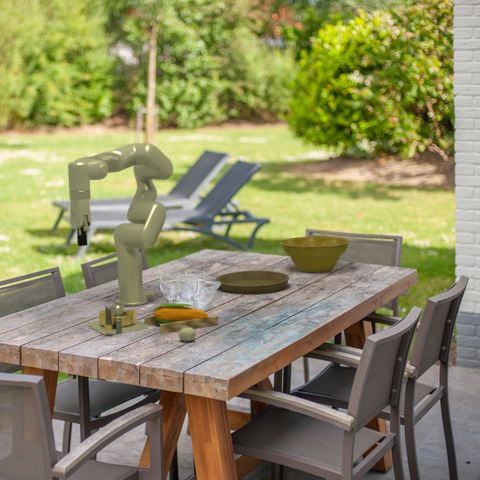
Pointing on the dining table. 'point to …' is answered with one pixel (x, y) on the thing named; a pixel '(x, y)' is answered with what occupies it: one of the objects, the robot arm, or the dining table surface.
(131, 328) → the housing plate
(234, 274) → the plant saucer
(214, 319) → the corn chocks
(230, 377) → the dining table surface
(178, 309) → the corn
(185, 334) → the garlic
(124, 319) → the tan angular piece
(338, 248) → the planter bowl
